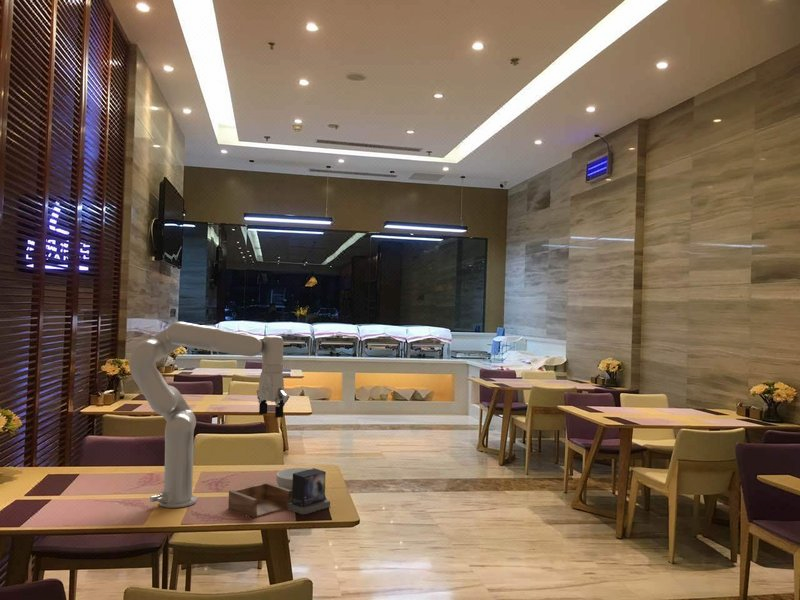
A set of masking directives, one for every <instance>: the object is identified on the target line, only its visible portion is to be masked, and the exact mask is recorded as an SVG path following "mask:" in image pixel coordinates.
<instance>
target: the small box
mask: <svg viewBox="0 0 800 600" xmlns="http://www.w3.org/2000/svg"><path fill="white" fill-rule="evenodd" d="M308 469H309V470H305V471H301V472H297V473H293V484H292V502H291V503H293V504H296V505H299V506H302V507H304V506H307V505H311V504H314V503H318V502H321V501H325V500H326V499H325V498H326V496H325V495H326V472H327V471H326V470H321V469H318V468H308Z"/></svg>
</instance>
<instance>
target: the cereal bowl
mask: <svg viewBox="0 0 800 600" xmlns="http://www.w3.org/2000/svg"><path fill="white" fill-rule="evenodd" d="M309 469H310V468H305V467H304V468H303V467H302V468H301V467H294V468H285V469H282V470H279V471H278V472H276V483H277V484H276V485H277V486H280V487H283V488H286V489H289V490H292V484H293V473H297V472H301V471H305V470H309Z"/></svg>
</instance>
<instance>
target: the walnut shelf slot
mask: <svg viewBox="0 0 800 600" xmlns="http://www.w3.org/2000/svg"><path fill="white" fill-rule="evenodd" d="M289 502H292V490H289V489H286V488H283V487H280V486H278V484H274V483H271V482H267V481H266V482H262V483H258V484H255V485H254V484H253V485H250V486H245V487H241V488H237V489H232V490H228V510H231V511H233V510H234V512H236V513H238V512H239V514H241V515H243V514H244V515H243V516H246V515H247V516H246V517H248V516H249V517H248V518H251V519H255V518H260V517H264V516H265V515H266V514H267V515H270V513H271V514H273V512H274V513H277V512H276V511H278V512H280V510H281V511H284V510H283V509H285V510H288V509H287V503H289ZM263 515H264V516H263ZM259 516H260V517H259Z"/></svg>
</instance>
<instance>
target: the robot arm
mask: <svg viewBox="0 0 800 600" xmlns="http://www.w3.org/2000/svg"><path fill="white" fill-rule="evenodd" d="M181 347H185V348H193V349H197V350H198V349H199V350H206V351H209V352H211V351H212V352H216V353H217V352H218V353H225V354H231V355H238V356H244V357H256V356H258V355H262V357H261V360H262V361H261V373H260V375H259V380H258V381H259V382H258V389H257V390H256V395H257V400H258V402H257V403H258V404H259V407H258V414H259V415H266V414H268V403H267V402H274V403H275V405H276V406H275V412H274V413H275V414H274V417H275V418H276V419H280V418H283V417H284V407H285V404H286V403H287V399H288V394H287V393H285V383H284V381H285V380H284V374H283V371H284V370H283V368H284V364H283V363H284V338H283V337H282V336H280V335H265V336H263V335H255V334H243V333H237V332H233V331H227V330H224V329H221V328H219V327H214V326H208V325H203V324H202V325H200V324H196V323H190V322H186V321H182V320H181V321H174V322H172V323H171V324H169V325H168V327H167V328H166V329H164V330H162V331H160V332H159V333H157V334H156V335H153V336H152V337H150V338H148V339H147V338H146V339H144V340H143V341H142V340H141V341H140V342H139V343H138V344H137V345H136V346H135V347H134V348H133V350H132V352H131V354H130V357H129V361H128V365H129V366H128V367H129V368H128V369H129V373H130V375H131V377H132V379H133V380H134V382H135V383H136V385H137V386H138V388H139V390H140V392H141V393H142V395H143V396H144V398H145V400H146V401H147V403H148V405H149V406H150V408H151V410H152V411H153V412H154V413H156V414H158V415H162V417H163V418H164V420H165V422H166V423H165V428H164V475H163V476H164V480H163V483H164V484H163V490H161V491H160V493H158V495H152V496H150V497H149V501H150V503H154V502H157V503H158V505H159V506H161V507H162V508H169V509H170V508H171V509H173V508H174V509H175V508H176V509H177V508H184V507H188V506H191V505H194V504H196V502H197V496H195V495H194V494H193V485H194V484H193V483H194V481H193V478H194V433H195V428H196V425H197V418H196V415H195V414H194V412H193V410H192V409H191V407H190V406H189V404H188V403H187V401H186V400H185V398H184V397H183V395H182V393H181V392H180V391H179V390H178V389H177V388H176V387H175V386H173V385H170V384H168V382H166V380H165V378H164V376H163V375H162V373H161V372H160V370H158V368H157V365H156V363H157V362H159V361H161V360H162V359H163V358H165V357H166V356H168V355H170V354H171V353H173V352H174V351H176V350H177V349H179V348H181Z"/></svg>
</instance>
